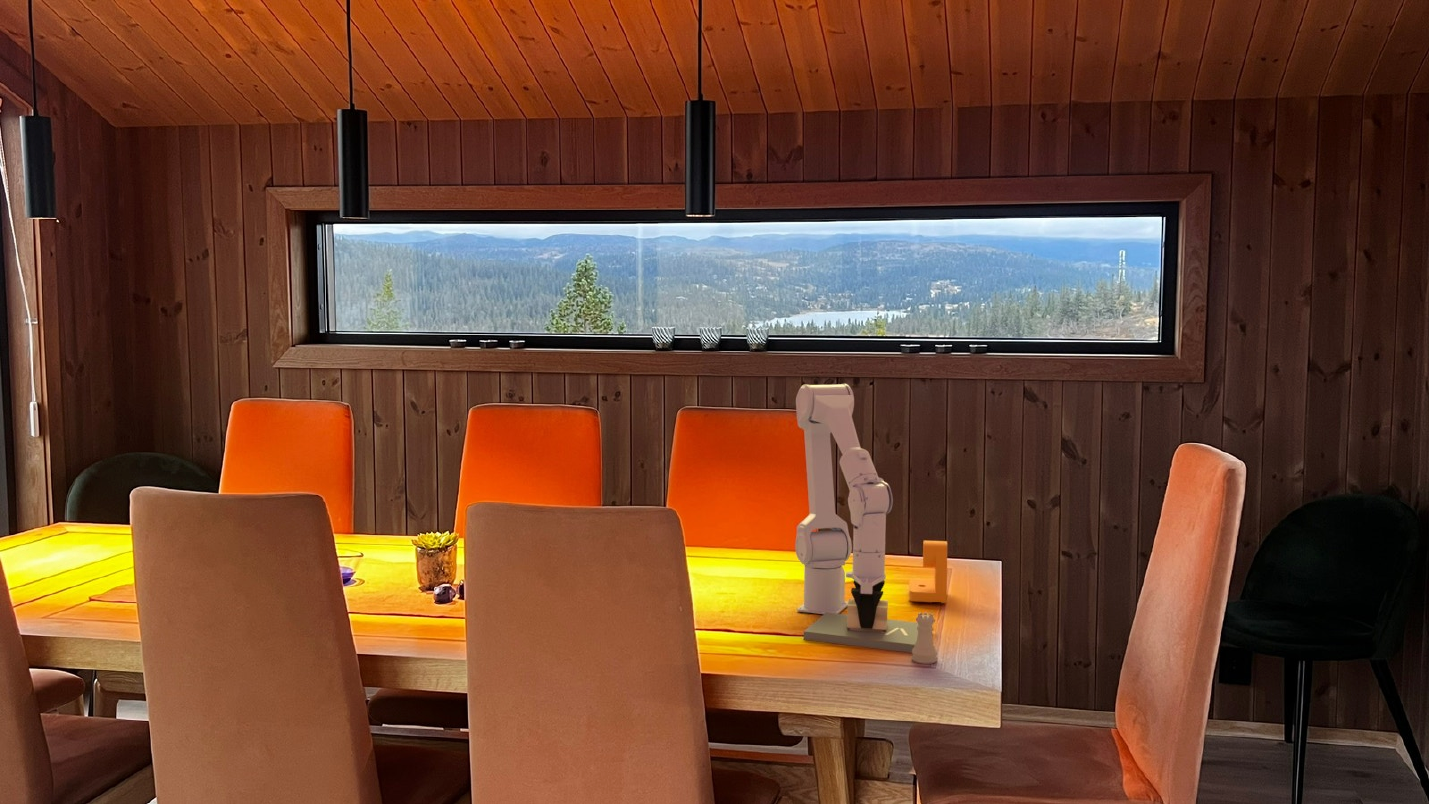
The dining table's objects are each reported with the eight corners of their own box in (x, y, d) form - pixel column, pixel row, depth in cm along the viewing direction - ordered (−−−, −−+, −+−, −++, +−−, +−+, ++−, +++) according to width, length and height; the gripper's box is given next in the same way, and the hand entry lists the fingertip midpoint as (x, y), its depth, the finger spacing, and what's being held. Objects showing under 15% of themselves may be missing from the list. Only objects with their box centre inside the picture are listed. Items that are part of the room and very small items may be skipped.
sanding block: (848, 622, 223) (849, 598, 222) (887, 624, 222) (887, 600, 221) (846, 630, 218) (847, 605, 218) (886, 632, 217) (886, 607, 216)
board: (826, 620, 230) (826, 612, 230) (931, 632, 223) (931, 624, 222) (803, 639, 217) (803, 631, 217) (914, 653, 210) (914, 644, 210)
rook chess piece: (934, 666, 203) (936, 619, 202) (908, 662, 204) (909, 616, 204) (940, 658, 207) (941, 612, 206) (914, 655, 208) (915, 609, 208)
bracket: (909, 591, 253) (910, 534, 252) (944, 593, 252) (946, 536, 251) (909, 604, 242) (910, 545, 241) (946, 606, 241) (948, 547, 240)
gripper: (849, 540, 226) (847, 612, 228) (844, 557, 212) (842, 633, 213) (887, 542, 225) (885, 614, 226) (884, 559, 211) (883, 635, 212)
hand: (867, 623), depth 220 cm, fingers closed on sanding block, 5 cm apart
